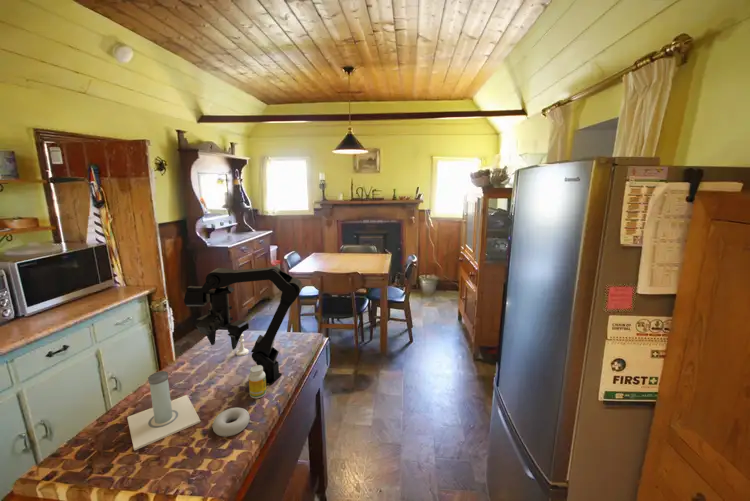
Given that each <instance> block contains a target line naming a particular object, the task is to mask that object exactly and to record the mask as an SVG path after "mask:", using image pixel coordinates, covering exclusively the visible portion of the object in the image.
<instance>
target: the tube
mask: <svg viewBox="0 0 750 501" xmlns="http://www.w3.org/2000/svg"><path fill="white" fill-rule="evenodd" d="M147 379H148V380H147V381H148V384H149V390H150V398H151V404H152V405H151V406H152V408H153V413H154V420H155V423H157V424H161V423H165V422H167V421H169V420H170V419H171V418H172V416H173V414H172V407H171V401H172V400H171V392H170V384H169V373H168V371H166V370H161V371H157V372H153V373H152V374H150V375H149V376H148V377H147Z"/></svg>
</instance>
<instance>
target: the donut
mask: <svg viewBox="0 0 750 501" xmlns="http://www.w3.org/2000/svg"><path fill="white" fill-rule="evenodd" d="M250 418H251V416H250V414H249V412H248V411H247V409H245V408H242V407H230V408H228V409H225V410H223V411H221V412H220V413H218V415H216V417H215V418H214V420H213V422H212V426H211V427H212V429H213V432H214V433H215V435H217V436H220V437H225V438H226V437H227V438H228V437H232V436H235V435H238V434H239V433H240V432H242V431H243V430H245V428H247V426H248V425H249V423H250ZM231 421H232V422H231Z"/></svg>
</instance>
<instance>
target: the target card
mask: <svg viewBox="0 0 750 501" xmlns="http://www.w3.org/2000/svg"><path fill="white" fill-rule="evenodd" d="M171 407H172V414H173V416H172V418H171V419H170V420H169V421H167V422H165V423H161V424H157V423H155V420H154V413H153V407H151V408H148V409H145V410H142V411H139V412H137V413H134V414H132V415H129V416H127V423H128V428H129V433H130V438H131V442H132V447H133V450H134V451H137V450H139V449H141V448H144V447H146V446H148V445H151V444H153V443H155V442H158V441H160V440H162V439H164V438H167V437H170V436H171V435H174V434H176V433H178V432H181V431H183V430H185V429H187V428H190V427H193V426H195V425H197V424H200V423H201V419H200V417H199V415H198V413H197V411H196V409H195V407H194V405H193V402H192V401H191V400H190V398H189V395H188V394H185V395H183V396H181V397H178V398H175V399H173V400H171Z"/></svg>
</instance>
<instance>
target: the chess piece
mask: <svg viewBox="0 0 750 501" xmlns="http://www.w3.org/2000/svg"><path fill="white" fill-rule="evenodd" d="M244 336H245V335H244V332H243V333H242V335H241V336H240V339H239V341H238V343H239V344H240V345H239V347H240V348H239V349H238V350H236V356H240V357H242V356H246V355H248V354H249V353H250V352H249V349H248V348H245V344H244V342H245V339H244Z"/></svg>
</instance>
